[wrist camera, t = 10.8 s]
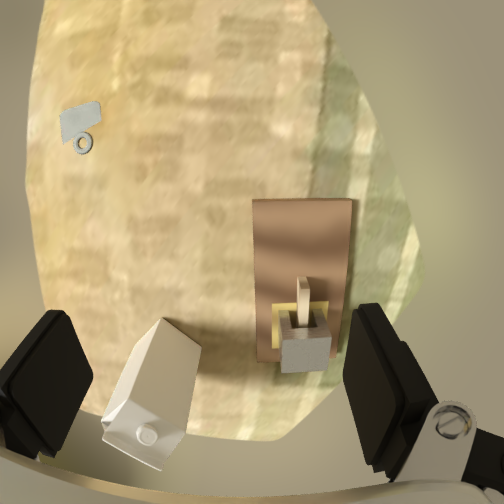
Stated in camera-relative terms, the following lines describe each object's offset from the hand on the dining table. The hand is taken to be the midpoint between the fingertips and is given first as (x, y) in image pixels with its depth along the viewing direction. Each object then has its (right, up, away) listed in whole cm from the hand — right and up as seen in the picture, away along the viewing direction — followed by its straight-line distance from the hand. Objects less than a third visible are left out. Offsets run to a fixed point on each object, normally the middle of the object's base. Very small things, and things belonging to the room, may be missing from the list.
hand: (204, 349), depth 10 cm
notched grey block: (+7, -6, +30) cm, 32 cm away
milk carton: (-10, -10, +33) cm, 36 cm away
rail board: (+7, -1, +29) cm, 30 cm away
